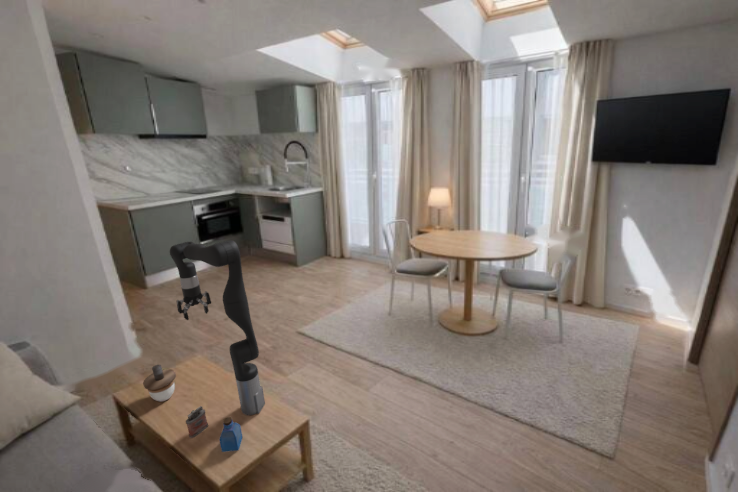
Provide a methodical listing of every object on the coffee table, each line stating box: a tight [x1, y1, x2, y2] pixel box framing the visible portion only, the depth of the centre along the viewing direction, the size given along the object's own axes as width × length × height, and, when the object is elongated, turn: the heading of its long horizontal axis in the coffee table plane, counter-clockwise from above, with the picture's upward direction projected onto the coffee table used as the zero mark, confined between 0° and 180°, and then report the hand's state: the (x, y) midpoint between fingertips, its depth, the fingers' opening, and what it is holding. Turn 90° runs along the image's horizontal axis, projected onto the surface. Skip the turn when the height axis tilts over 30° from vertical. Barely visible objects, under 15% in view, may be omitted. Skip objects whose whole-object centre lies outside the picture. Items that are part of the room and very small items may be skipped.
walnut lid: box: [142, 364, 177, 390], centre depth 164 cm, size 13×13×7 cm
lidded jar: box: [147, 379, 176, 402], centre depth 166 cm, size 11×11×9 cm
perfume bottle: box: [218, 416, 243, 453], centre depth 139 cm, size 6×6×12 cm
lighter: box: [185, 405, 209, 439], centre depth 146 cm, size 8×3×10 cm, turn 148°
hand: (196, 316), depth 171 cm, fingers open, 8 cm apart
